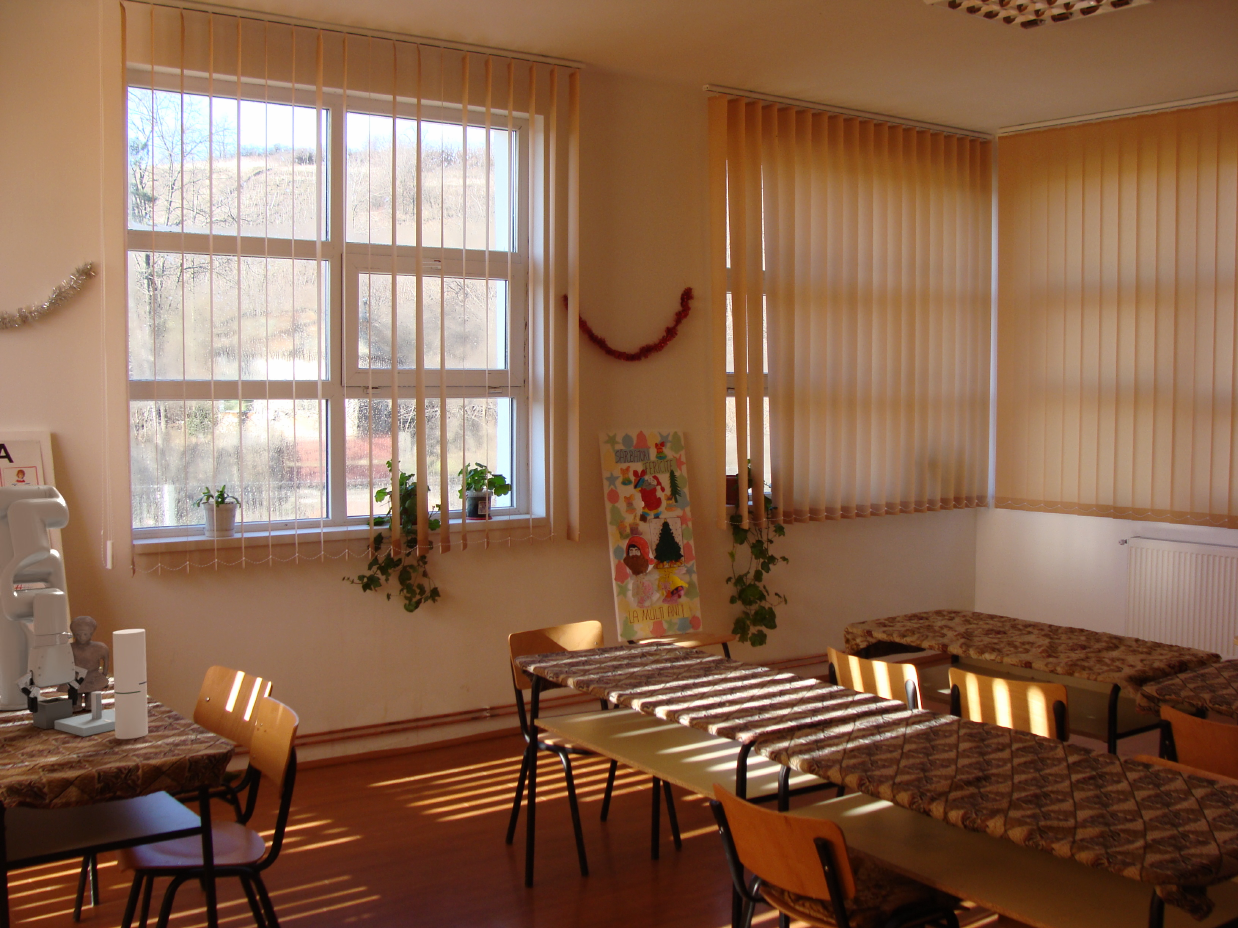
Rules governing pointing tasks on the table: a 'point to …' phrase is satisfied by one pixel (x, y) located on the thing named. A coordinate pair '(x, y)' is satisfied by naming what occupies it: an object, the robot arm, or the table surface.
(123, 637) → the cylindrical container
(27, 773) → the table surface
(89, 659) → the clay figurine
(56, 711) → the square tunnel housing
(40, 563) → the robot arm
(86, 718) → the shaft base
